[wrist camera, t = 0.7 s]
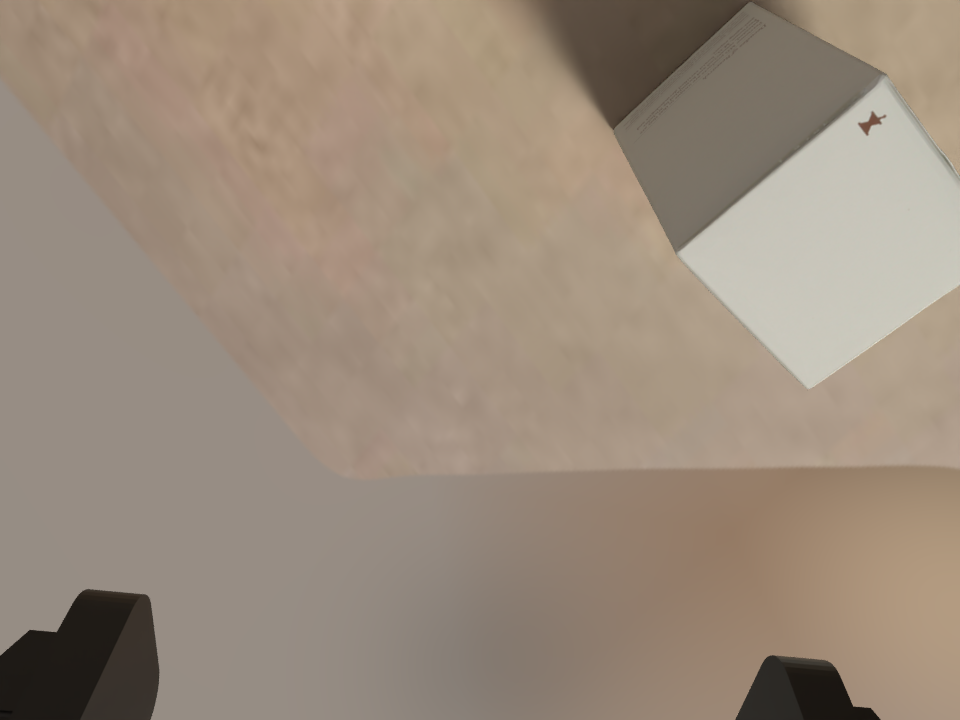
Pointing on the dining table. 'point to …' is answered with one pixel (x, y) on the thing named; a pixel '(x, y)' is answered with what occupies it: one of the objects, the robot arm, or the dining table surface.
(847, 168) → the supplement box
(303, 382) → the dining table surface
